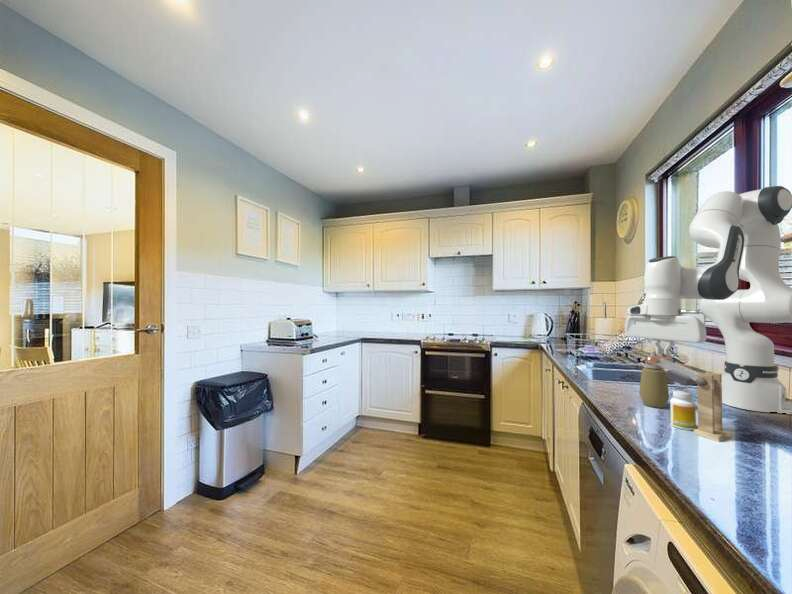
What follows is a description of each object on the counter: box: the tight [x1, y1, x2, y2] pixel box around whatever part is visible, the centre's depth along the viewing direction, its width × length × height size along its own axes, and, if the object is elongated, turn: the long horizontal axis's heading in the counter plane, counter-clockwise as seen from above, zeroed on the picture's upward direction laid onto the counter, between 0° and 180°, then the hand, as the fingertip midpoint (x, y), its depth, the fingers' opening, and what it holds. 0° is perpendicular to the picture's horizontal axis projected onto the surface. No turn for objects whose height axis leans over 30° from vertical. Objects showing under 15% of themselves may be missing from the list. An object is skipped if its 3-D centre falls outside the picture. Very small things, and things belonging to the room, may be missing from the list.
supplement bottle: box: [669, 390, 697, 431], centre depth 93 cm, size 5×5×10 cm
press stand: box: [693, 371, 733, 442], centre depth 87 cm, size 7×5×16 cm
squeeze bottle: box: [638, 351, 670, 409], centre depth 112 cm, size 8×8×18 cm
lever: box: [644, 354, 715, 387], centre depth 94 cm, size 10×15×4 cm
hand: (662, 354), depth 101 cm, fingers closed, pressing on lever
